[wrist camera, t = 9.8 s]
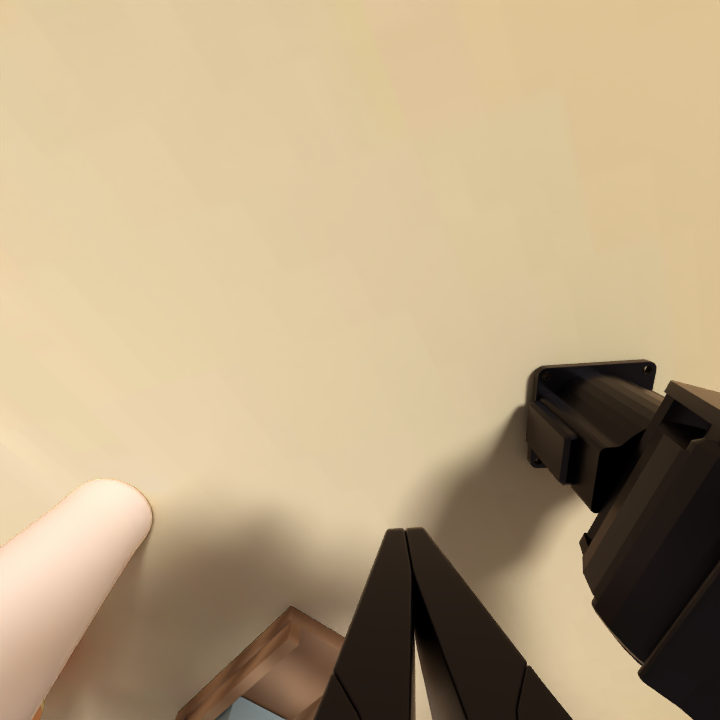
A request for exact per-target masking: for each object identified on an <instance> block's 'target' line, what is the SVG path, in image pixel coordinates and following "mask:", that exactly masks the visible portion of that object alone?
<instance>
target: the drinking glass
mask: <svg viewBox="0 0 720 720" xmlns="http://www.w3.org/2000/svg"><path fill="white" fill-rule="evenodd" d="M151 524H152V511H151V508H150V505H149V503H148V501H147V500H146V498H145V497H144V496H143V495H142V494H141V493H140V492H139V491H138V490H137V489H136V488H134V487H132V486H131V485H129V484H127V483H125V482H122V481H119V480H114V479H95V480H91V481H88V482H86V483H84V484H82V485H80V486H78V487H77V488H76V489H74V490H73V491H72V492H71V493H69V494H68V495H67V496H66V497H65V498H64V499H62V500H61V501H60V502H59V503H58V504H57V505H55V506H54V507H53V508H52V509H50V510H49V511H48V512H46V513H45V514H44V515H42V516H41V517H40V518H38V519H37V520H36V521H34V522H33V523H32V524H30V525H29V526H28V527H26V528H25V529H23V530H22V531H21V532H19V533H18V534H17V535H15V536H14V537H13V538H11V539H10V540H9V541H7V542H6V543H5V544H3V545H2V546H0V720H32V719H33V717H34V715H35V714H36V712H37V710H38V709H39V707H40V706H41V704H42V702H43V701H44V699H45V697H46V696H47V694H48V693H49V691H50V689H51V688H52V686H53V684H54V683H55V681H56V679H57V678H58V676H59V674H60V673H61V671H62V669H63V668H64V666H65V665H66V663H67V661H68V660H69V658H70V656H71V655H72V653H73V651H74V650H75V648H76V646H77V645H78V643H79V641H80V640H81V638H82V636H83V635H84V633H85V632H86V630H87V628H88V627H89V625H90V623H91V622H92V620H93V618H94V617H95V615H96V614H97V612H98V610H99V609H100V607H101V605H102V604H103V602H104V600H105V599H106V597H107V596H108V594H109V592H110V591H111V589H112V587H113V586H114V584H115V583H116V581H117V579H118V578H119V576H120V574H121V573H122V571H123V570H124V568H125V566H126V565H127V563H128V562H129V560H130V558H131V557H132V555H133V554H134V552H135V551H136V550H137V548H138V547H139V546H140V544H141V543H142V541H143V540H144V539H145V537H146V536H147V534H148V532H149V530H150V528H151Z"/></svg>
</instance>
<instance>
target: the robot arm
mask: <svg viewBox="0 0 720 720" xmlns="http://www.w3.org/2000/svg"><path fill="white" fill-rule="evenodd" d="M644 367H647V368H646V370H645V371H642V370H643V368H644ZM546 372H548V375H547V377H545V378H542V376H543V374H544V373H546ZM655 374H656V365H655V364H654V363H653V362H651V361H648V360H644V359H642V360H626V361H610V362H594V363H578V364H563V365H547V366H541V367H539V368H538V369H537V370H536V372H535V376H534V388H533V399H532V402H531V403H530V404H529V408H528V420H527V432H526V442H527V443H528V445H529V446H528V457H527V458H528V461H529V463H530V464H531V465H532V466H533V467H534V468H548V469H549V471H550V472H551V473H552V474H553V475H554V477H555V478H556V479H557V480H558V481H559V482H560V483H561V484H562V485H570V486H571V488H572V489H573V490H574V491H575V492H576V493H577V495H578V496H579V497H580V498H581V499H582V501H583V502H584V503H585V504H586V505H587V506H588V508H589V509H590V510H591V511H592V512H593V513H599V514H598V515H597V517H596V519H595V521H594V522H593V524H592V526H591V528H590V529H589V531H588V533H584V534H583V536H582V538H581V540H580V541H579V544H580V547H581V550H582V553H583V557H582V558H583V574H584V576H585V578H586V580H587V583H588V585H589V587H590V589H591V592H592V594H593V595H594V598H593V600H592V606H593V608H594V610H595V612H596V614H597V615H598V616H599V618H600V619H601V620H602V622H603V623H604V624H605V626H606V627H607V628H608V630H609V631H610V632H611V633H612V634H613V636H614V637H615V638H616V639H617V641H618V642H619V643H620V644H621V646H622V647H623V648H624V649H625V650H626V651H627V652H628V653H629V654H630V655H631V656H632V657H633V658H634V659H635V660H636V661H637V662H638V663H639V664H640V665H641V668H640V669H639V670H638V676H639V677H640V679H641V680H642V681H643V682H644V683H645V684H647V685H648V686H649V687H651V688H652V689H654V690H655V691H657V692H658V693H659V694H661V695H662V696H664V697H665V698H667V699H668V700H669V701H671V702H672V703H674V704H675V705H677V706H678V707H679V708H681V709H682V710H683V711H684V712H685V713H686V714H687V715H689V716H690V717H691V718H692V719H693V720H720V393H719V392H715V391H711V390H708V389H704V388H700V387H696V386H692V385H688V384H684V383H680V382H677V381H673V380H671V381H670V383H669V384H668V386H667V388H666V390H665V391H664V392H665V393H667V394H666V396H665V397H664V396H662V395H660V394H658V393H656V392H654V391H652V389H653V384H654V379H655ZM538 457H539V459H538V460H537V461H535V459H536V458H538ZM414 633H415V637H414ZM415 640H416V645H417V650H418V655H419V660H420V664H421V669H422V673H423V678H424V683H425V687H426V692H427V696H428V701H429V705H430V710H431V714H432V719H433V720H573V719H572V718H571V717H570V716H569V714H568V713H567V712H566V711H565V709H564V708H563V707H562V706H561V704H560V703H559V702H558V701H557V700H556V698H555V697H554V696H553V695H552V693H551V692H550V691H549V690H548V688H547V687H546V686H545V685H544V683H543V682H542V681H541V679H540V678H539V677H538V675H537V674H536V673H535V672H534V670H533V669H532V668H531V666H527V662H526V660H525V659H524V658H523V656H522V655H521V654H520V652H519V651H518V650H517V648H516V647H515V646H514V645H513V643H512V642H511V641H510V639H509V638H508V637H507V636H506V634H505V633H504V632H503V630H502V629H501V628H500V626H499V625H498V624H497V623H496V621H495V620H494V619H493V617H492V616H491V615H490V614H489V612H488V611H487V610H486V608H485V607H484V606H483V604H482V603H481V602H480V601H479V599H478V598H477V597H476V595H475V594H474V593H473V591H472V590H471V589H470V588H469V586H468V585H467V584H466V582H465V581H464V580H463V579H462V577H461V576H460V575H459V573H458V572H457V571H456V569H455V568H454V567H453V566H452V564H451V563H450V562H449V560H448V559H447V558H446V557H445V555H444V554H443V553H442V551H441V550H440V549H439V547H438V546H437V545H436V544H435V542H434V541H433V540H432V538H431V537H430V536H429V534H428V533H427V532H426V531H425V529H424V528H422V527H415V528H407V529H406V530H404V529H403V528H396V529H388V530H387V531H386V533H385V535H384V538H383V540H382V543H381V546H380V548H379V551H378V553H377V556H376V559H375V561H374V564H373V566H372V569H371V572H370V574H369V577H368V579H367V582H366V585H365V587H364V590H363V592H362V595H361V598H360V600H359V603H358V605H357V608H356V611H355V613H354V616H353V618H352V621H351V624H350V626H349V629H348V631H347V634H346V637H345V639H344V642H343V644H342V647H341V650H340V652H339V655H338V657H337V660H336V663H335V665H334V668H333V674H331V675H330V678H329V680H328V683H327V685H326V688H325V691H324V693H323V696H322V698H321V701H320V703H319V705H318V708H317V710H316V713H315V715H314V717H313V720H416V714H415Z"/></svg>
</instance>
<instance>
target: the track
mask: <svg viewBox="0 0 720 720" xmlns="http://www.w3.org/2000/svg"><path fill="white" fill-rule="evenodd" d="M344 639H345V638H344V637H342V636H341V635H339V634H337V633H336V632H334V631H332V630H331V629H329V628H327V627H326V626H324V625H322V624H321V623H319V622H317V621H316V620H314V619H312V618H310V617H309V616H307V615H305V614H304V613H302V612H300V611H299V610H297V609H295V608H294V607H292V606H291V607H290V608H289V609H288V610H287V611H285V612H284V613H283V614H282V615H281V616H280V617H279V618H278V619H277V620H276V621H275V622H274V623H273V624H272V625H271V626H269V627H268V628H267V629H266V630H265V631H264V632H263V633H262V634H261V635H260V636H259V637H258V638H257V639H256V640H255V641H254V642H252V643H251V644H250V645H249V646H248V647H247V648H246V649H245V650H244V651H243V652H242V653H241V654H240V655H239V656H238V657H236V658H235V659H234V660H233V661H232V662H231V663H230V664H229V665H228V666H227V667H226V668H225V669H224V670H223V671H222V672H221V673H219V674H218V675H217V676H216V677H215V678H214V679H213V680H212V681H211V682H210V683H209V684H208V685H207V686H206V687H205V688H204V689H202V690H201V691H200V692H199V693H198V694H197V695H196V696H195V697H194V698H193V699H192V700H191V701H190V702H189V703H188V704H186V705H185V706H184V707H183V708H182V709H181V710H180V711H179V712H178V714H177V717H176V719H175V720H215V719H216V718H217V717H218V716H219V715H220V714H221V713H223V712H224V711H225V710H226V709H227V708H228V707H229V706H230V705H232V704H233V703H234V702H235V701H236V700H237V699H238V698H239V697H243V698H245V699H247V700H248V701H250V702H252V703H254V704H256V705H258V706H260V707H262V708H264V709H266V710H268V711H270V712H272V713H274V714H276V715H278V716H279V717H281V718H283V719H285V720H313V717H314V715H315V713H316V710H317V708H318V705H319V703H320V701H321V698H322V696H323V693H324V691H325V688H326V685H327V683H328V680H329V678H330V675H331V674H333V668H334V665H335V663H336V660H337V657H338V655H339V652H340V650H341V647H342V644H343V642H344Z"/></svg>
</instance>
